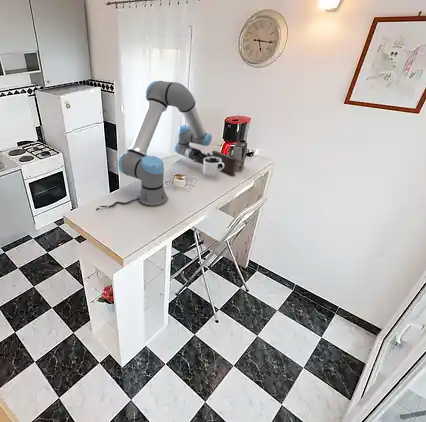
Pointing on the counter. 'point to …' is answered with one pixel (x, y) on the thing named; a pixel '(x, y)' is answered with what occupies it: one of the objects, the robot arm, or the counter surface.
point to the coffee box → (239, 155)
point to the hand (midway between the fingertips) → (220, 165)
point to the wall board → (226, 162)
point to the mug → (212, 166)
